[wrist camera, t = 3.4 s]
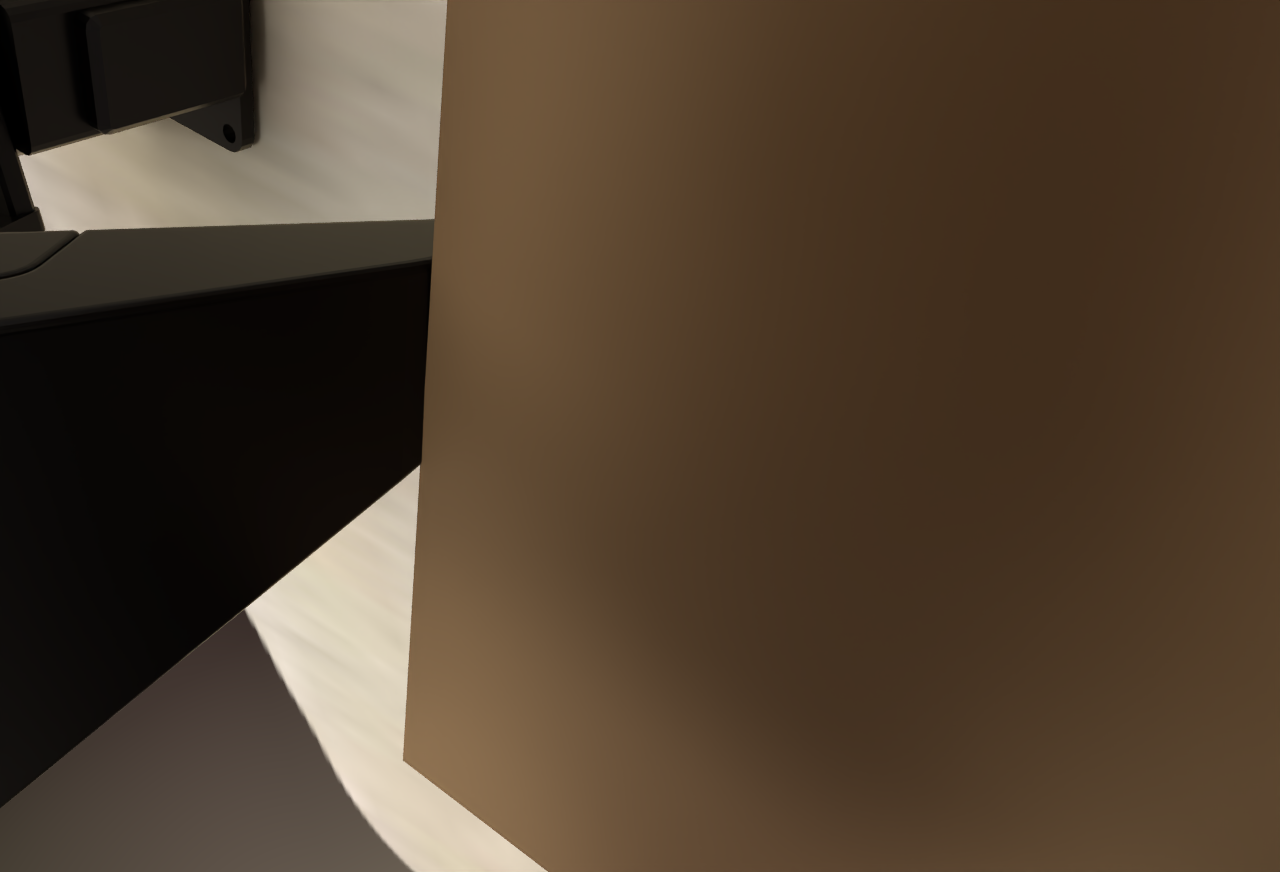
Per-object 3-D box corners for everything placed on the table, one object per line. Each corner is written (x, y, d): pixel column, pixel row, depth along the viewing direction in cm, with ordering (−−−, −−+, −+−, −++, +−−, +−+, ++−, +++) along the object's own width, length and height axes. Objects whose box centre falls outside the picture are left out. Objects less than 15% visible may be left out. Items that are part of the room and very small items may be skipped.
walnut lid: (533, 648, 13) (403, 759, 12) (702, -486, 7) (477, -526, 6) (1095, 1030, 11) (1012, 1228, 9) (2073, -206, 5) (2256, -161, 3)
